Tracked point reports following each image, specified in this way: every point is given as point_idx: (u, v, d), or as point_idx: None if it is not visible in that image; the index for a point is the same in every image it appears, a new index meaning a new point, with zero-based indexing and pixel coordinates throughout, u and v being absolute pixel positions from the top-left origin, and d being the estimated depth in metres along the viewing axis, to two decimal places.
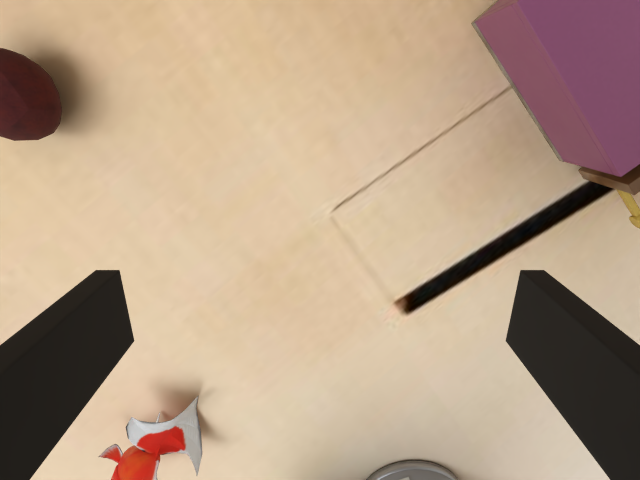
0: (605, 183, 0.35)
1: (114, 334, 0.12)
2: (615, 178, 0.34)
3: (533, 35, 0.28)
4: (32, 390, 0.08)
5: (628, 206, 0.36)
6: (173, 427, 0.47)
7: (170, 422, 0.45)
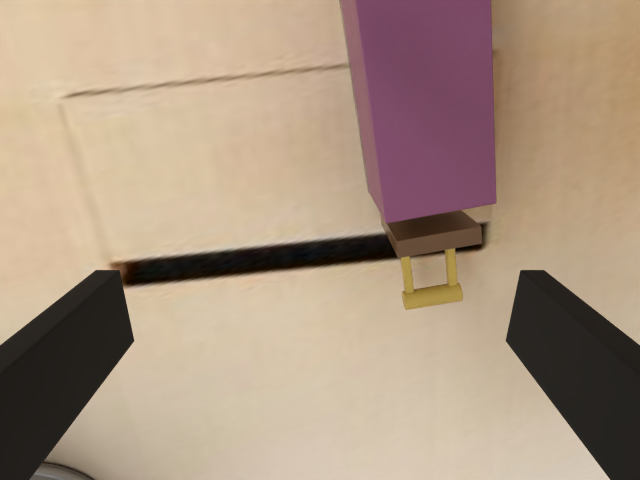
0: (388, 235, 0.27)
1: (114, 334, 0.12)
2: (394, 231, 0.26)
3: None
4: (32, 390, 0.08)
5: (403, 277, 0.29)
6: None
7: None
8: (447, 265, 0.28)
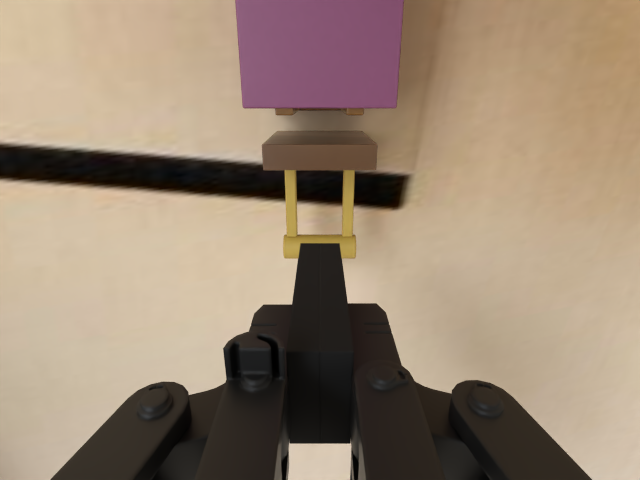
0: None
1: None
2: (271, 139, 0.19)
3: None
4: None
5: (286, 214, 0.22)
6: None
7: None
8: (343, 208, 0.22)
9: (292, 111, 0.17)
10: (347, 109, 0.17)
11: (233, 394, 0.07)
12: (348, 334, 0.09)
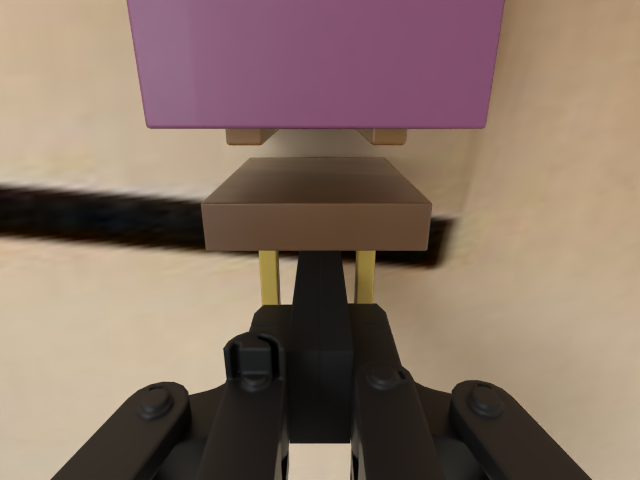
0: None
1: None
2: (228, 185, 0.10)
3: None
4: None
5: (262, 298, 0.14)
6: None
7: None
8: (355, 289, 0.13)
9: (261, 138, 0.08)
10: (373, 134, 0.08)
11: (233, 394, 0.07)
12: (348, 334, 0.09)
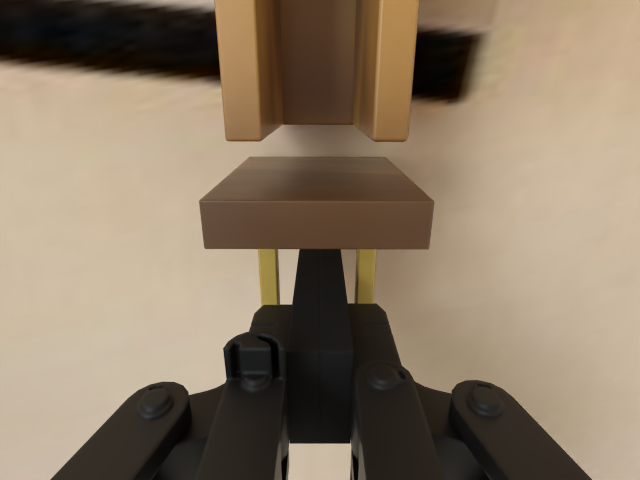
0: None
1: None
2: (227, 183, 0.10)
3: None
4: None
5: None
6: None
7: None
8: (356, 289, 0.13)
9: (260, 133, 0.08)
10: (374, 130, 0.08)
11: (233, 394, 0.07)
12: (348, 334, 0.09)
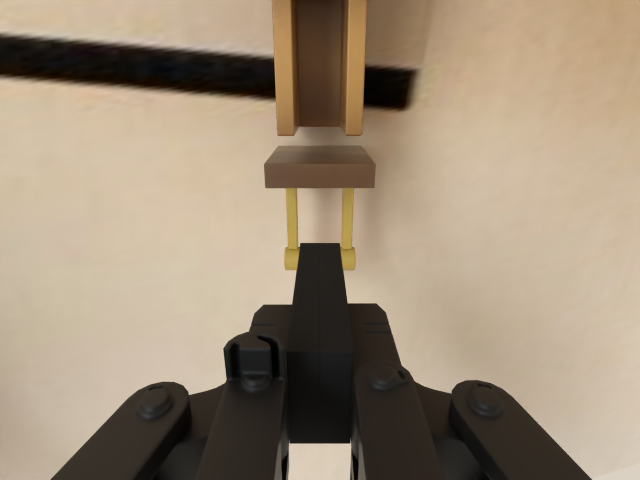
0: None
1: None
2: (273, 157, 0.20)
3: None
4: None
5: (287, 227, 0.23)
6: None
7: None
8: (342, 222, 0.23)
9: (293, 132, 0.18)
10: (346, 130, 0.18)
11: (233, 394, 0.07)
12: (348, 334, 0.09)
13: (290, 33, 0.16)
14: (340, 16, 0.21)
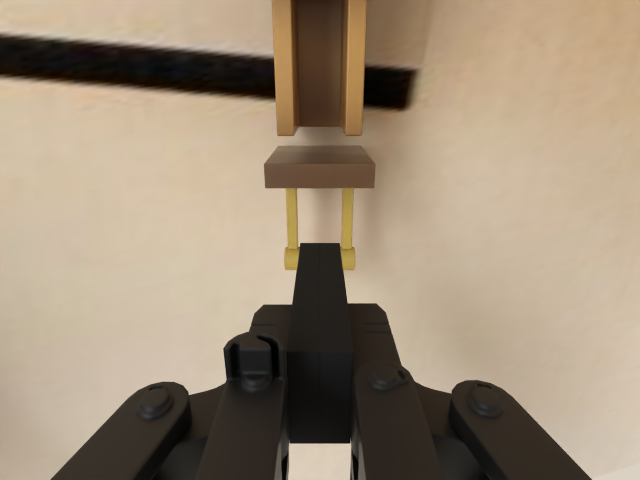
0: None
1: None
2: (273, 157, 0.20)
3: None
4: None
5: (287, 227, 0.23)
6: None
7: None
8: (342, 222, 0.23)
9: (293, 132, 0.18)
10: (346, 130, 0.18)
11: (233, 394, 0.07)
12: (348, 334, 0.09)
13: (290, 33, 0.16)
14: (340, 16, 0.21)
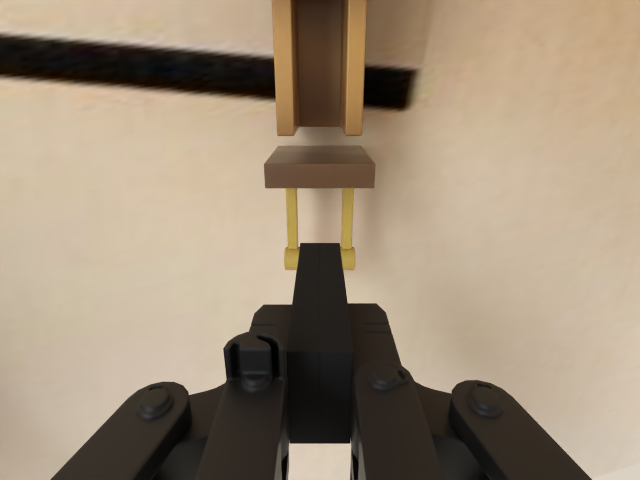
0: None
1: None
2: (273, 157, 0.20)
3: None
4: None
5: (287, 227, 0.23)
6: None
7: None
8: (342, 222, 0.23)
9: (293, 132, 0.18)
10: (346, 130, 0.18)
11: (233, 394, 0.07)
12: (348, 334, 0.09)
13: (290, 33, 0.16)
14: (340, 16, 0.21)
